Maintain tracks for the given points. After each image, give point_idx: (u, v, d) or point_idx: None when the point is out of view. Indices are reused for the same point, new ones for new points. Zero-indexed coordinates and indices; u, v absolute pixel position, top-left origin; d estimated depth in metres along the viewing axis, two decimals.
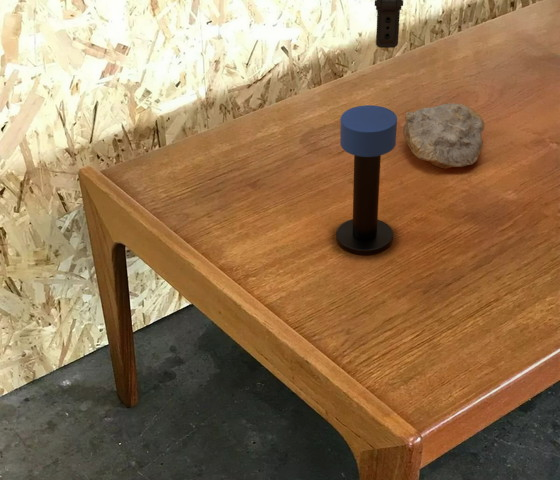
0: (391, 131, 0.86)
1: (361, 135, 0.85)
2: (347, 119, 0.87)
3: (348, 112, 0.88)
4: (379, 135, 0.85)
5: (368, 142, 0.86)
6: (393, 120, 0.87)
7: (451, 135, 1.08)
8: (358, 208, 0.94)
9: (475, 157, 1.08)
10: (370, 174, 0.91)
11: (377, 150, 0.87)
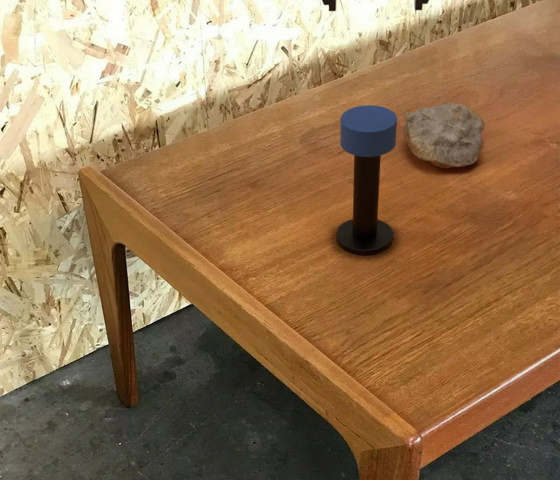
0: (391, 131, 0.86)
1: (361, 135, 0.85)
2: (347, 119, 0.87)
3: (348, 112, 0.88)
4: (379, 135, 0.85)
5: (368, 142, 0.86)
6: (393, 120, 0.87)
7: (451, 135, 1.08)
8: (358, 208, 0.94)
9: (475, 157, 1.08)
10: (370, 174, 0.91)
11: (377, 150, 0.87)
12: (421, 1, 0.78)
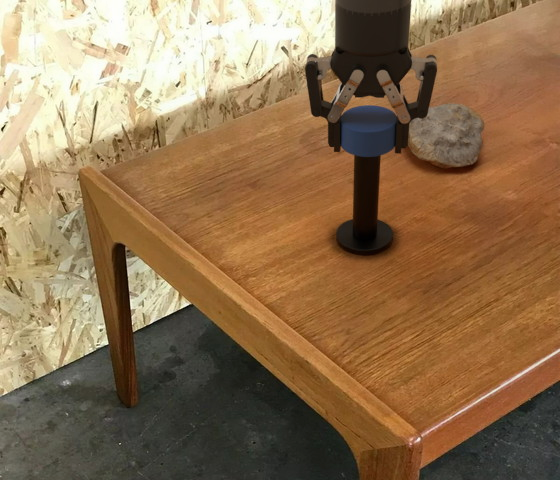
0: (391, 131, 0.86)
1: (361, 135, 0.85)
2: (347, 119, 0.87)
3: (348, 112, 0.88)
4: (379, 135, 0.85)
5: (368, 142, 0.86)
6: (393, 120, 0.87)
7: (451, 135, 1.08)
8: (358, 208, 0.94)
9: (475, 157, 1.08)
10: (370, 174, 0.91)
11: (377, 150, 0.87)
12: (400, 147, 0.88)
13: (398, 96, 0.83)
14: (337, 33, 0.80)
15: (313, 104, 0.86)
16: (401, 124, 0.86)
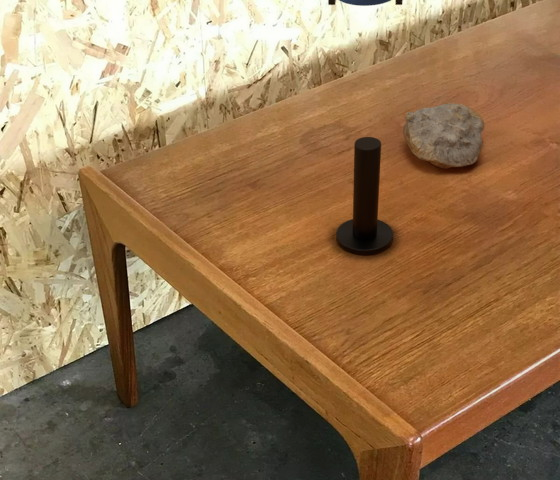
0: None
1: None
2: None
3: None
4: None
5: None
6: None
7: (451, 135, 1.08)
8: (358, 208, 0.94)
9: (475, 157, 1.08)
10: (370, 174, 0.91)
11: None
12: None
13: None
14: None
15: None
16: None
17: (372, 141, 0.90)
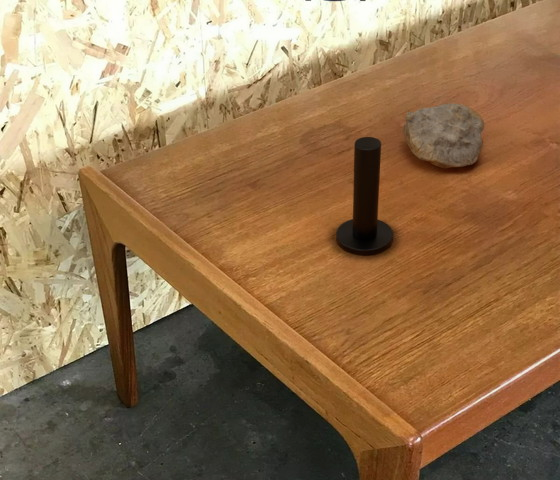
0: None
1: None
2: None
3: None
4: None
5: None
6: None
7: (451, 135, 1.08)
8: (358, 208, 0.94)
9: (475, 157, 1.08)
10: (370, 174, 0.91)
11: None
12: None
13: None
14: None
15: None
16: None
17: (372, 141, 0.90)
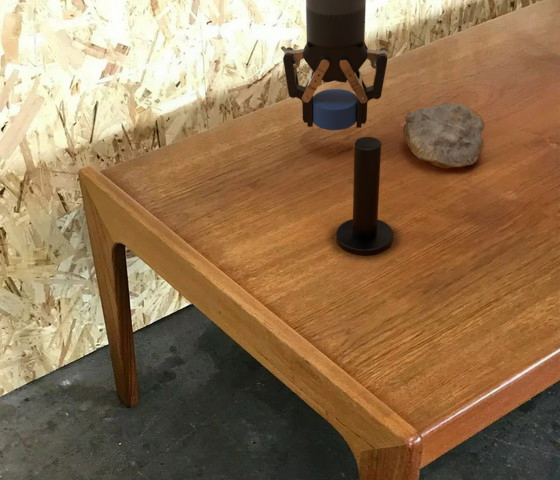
0: (352, 109, 1.08)
1: (328, 112, 1.07)
2: (317, 99, 1.09)
3: (319, 94, 1.10)
4: (343, 112, 1.07)
5: (334, 118, 1.07)
6: (354, 100, 1.08)
7: (451, 135, 1.08)
8: (358, 208, 0.94)
9: (475, 157, 1.08)
10: (370, 174, 0.91)
11: (341, 125, 1.08)
12: (360, 122, 1.09)
13: (357, 81, 1.05)
14: (308, 30, 1.01)
15: (290, 87, 1.07)
16: (360, 104, 1.08)
17: (372, 141, 0.90)
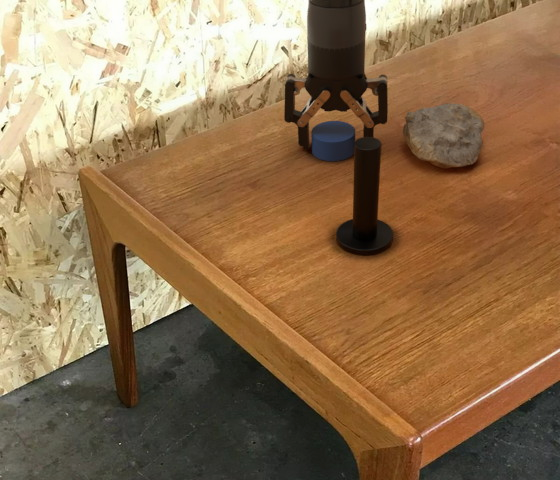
0: (350, 141, 1.11)
1: (327, 144, 1.10)
2: (316, 131, 1.12)
3: (318, 126, 1.13)
4: (341, 144, 1.10)
5: (333, 150, 1.11)
6: (352, 132, 1.11)
7: (451, 135, 1.08)
8: (358, 208, 0.94)
9: (475, 157, 1.08)
10: (370, 174, 0.91)
11: (339, 156, 1.11)
12: None
13: (360, 108, 1.07)
14: (309, 63, 1.04)
15: (287, 112, 1.10)
16: (367, 128, 1.10)
17: (372, 141, 0.90)
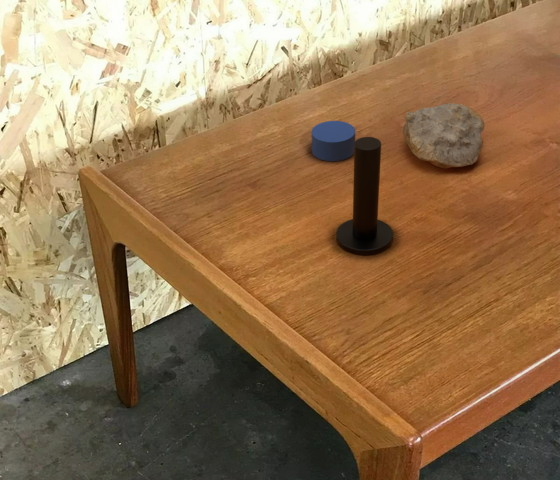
0: (350, 141, 1.11)
1: (327, 144, 1.10)
2: (316, 131, 1.12)
3: (318, 126, 1.13)
4: (341, 144, 1.10)
5: (333, 150, 1.11)
6: (352, 132, 1.11)
7: (451, 135, 1.08)
8: (358, 208, 0.94)
9: (475, 157, 1.08)
10: (370, 174, 0.91)
11: (339, 156, 1.11)
12: None
13: None
14: None
15: None
16: None
17: (372, 141, 0.90)
